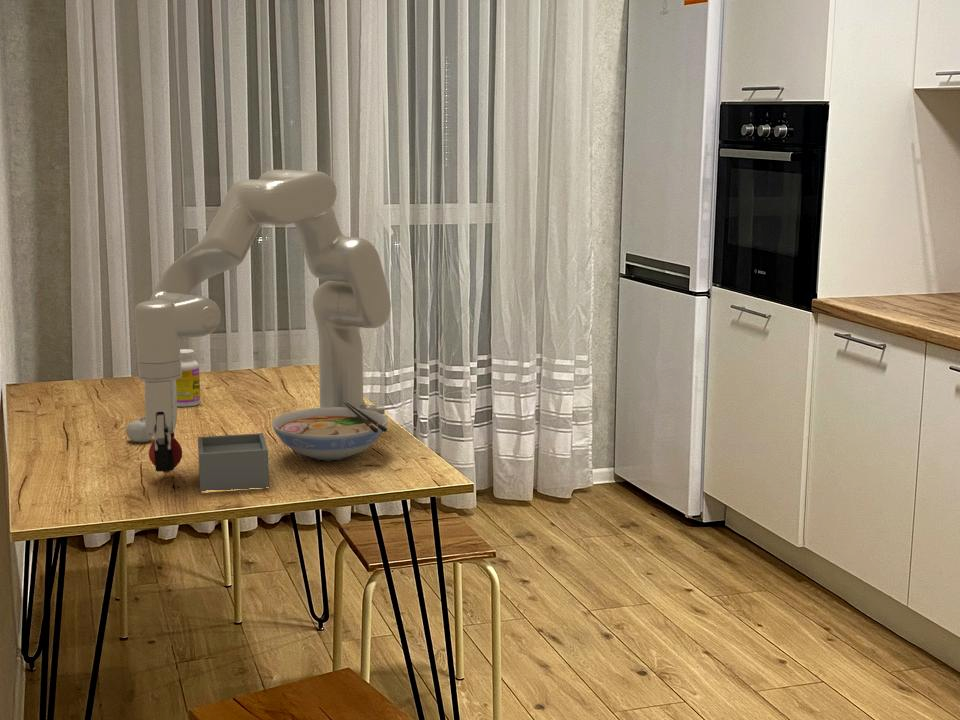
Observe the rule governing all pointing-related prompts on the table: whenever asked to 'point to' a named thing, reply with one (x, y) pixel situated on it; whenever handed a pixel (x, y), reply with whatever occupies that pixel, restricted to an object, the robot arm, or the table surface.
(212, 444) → the grey hollow box
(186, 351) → the supplement bottle
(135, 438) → the garlic
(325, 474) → the table surface
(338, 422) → the ramen bowl
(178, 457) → the onion
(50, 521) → the table surface
